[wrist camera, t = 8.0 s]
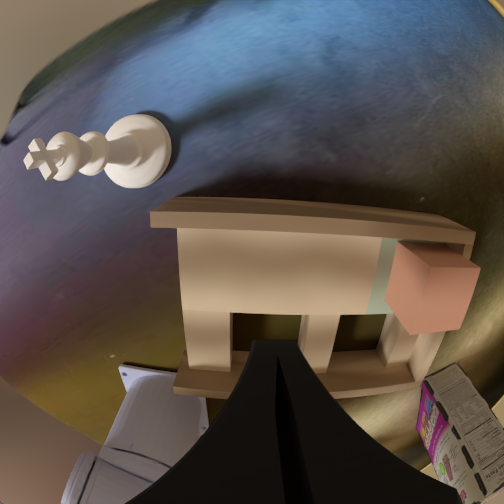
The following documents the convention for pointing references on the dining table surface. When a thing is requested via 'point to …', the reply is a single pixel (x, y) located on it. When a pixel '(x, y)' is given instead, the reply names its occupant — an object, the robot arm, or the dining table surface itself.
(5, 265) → the dining table surface
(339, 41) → the dining table surface
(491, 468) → the candy bar box
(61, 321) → the dining table surface
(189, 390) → the tray
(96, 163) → the chess piece
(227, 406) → the robot arm
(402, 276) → the terracotta block
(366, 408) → the dining table surface
